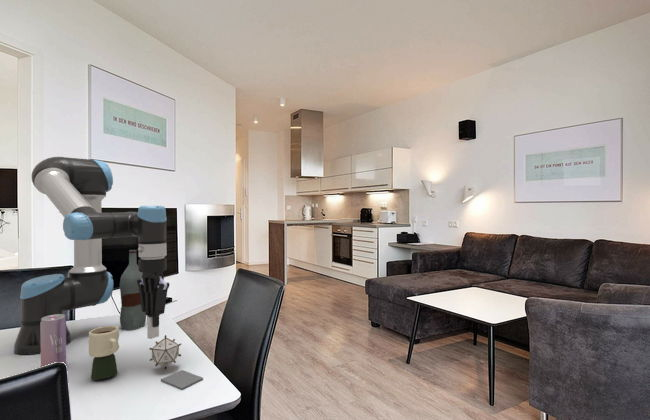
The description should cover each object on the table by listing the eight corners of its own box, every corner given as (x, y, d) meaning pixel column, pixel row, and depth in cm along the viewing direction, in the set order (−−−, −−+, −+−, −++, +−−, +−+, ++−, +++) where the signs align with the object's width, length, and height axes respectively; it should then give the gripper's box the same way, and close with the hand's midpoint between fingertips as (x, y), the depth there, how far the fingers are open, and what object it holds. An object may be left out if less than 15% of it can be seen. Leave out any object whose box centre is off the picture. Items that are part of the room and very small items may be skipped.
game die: (169, 377, 99) (169, 341, 99) (141, 375, 101) (141, 339, 101) (187, 364, 108) (187, 330, 108) (162, 361, 110) (162, 328, 110)
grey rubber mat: (160, 381, 97) (160, 379, 97) (182, 372, 103) (182, 369, 103) (181, 390, 92) (181, 388, 92) (203, 380, 98) (203, 377, 98)
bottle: (124, 323, 146) (124, 249, 146) (149, 322, 148) (148, 248, 147) (115, 331, 137) (115, 252, 136) (142, 330, 138) (141, 251, 138)
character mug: (128, 376, 100) (128, 329, 100) (102, 387, 94) (101, 337, 94) (106, 367, 106) (106, 323, 106) (80, 377, 99) (79, 330, 99)
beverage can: (62, 362, 109) (62, 312, 109) (69, 367, 106) (68, 316, 105) (38, 369, 105) (37, 317, 105) (44, 375, 101) (43, 321, 101)
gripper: (127, 257, 108) (128, 337, 108) (153, 260, 101) (154, 345, 101) (151, 254, 114) (152, 329, 114) (177, 257, 107) (178, 337, 107)
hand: (153, 337), depth 108 cm, fingers closed
